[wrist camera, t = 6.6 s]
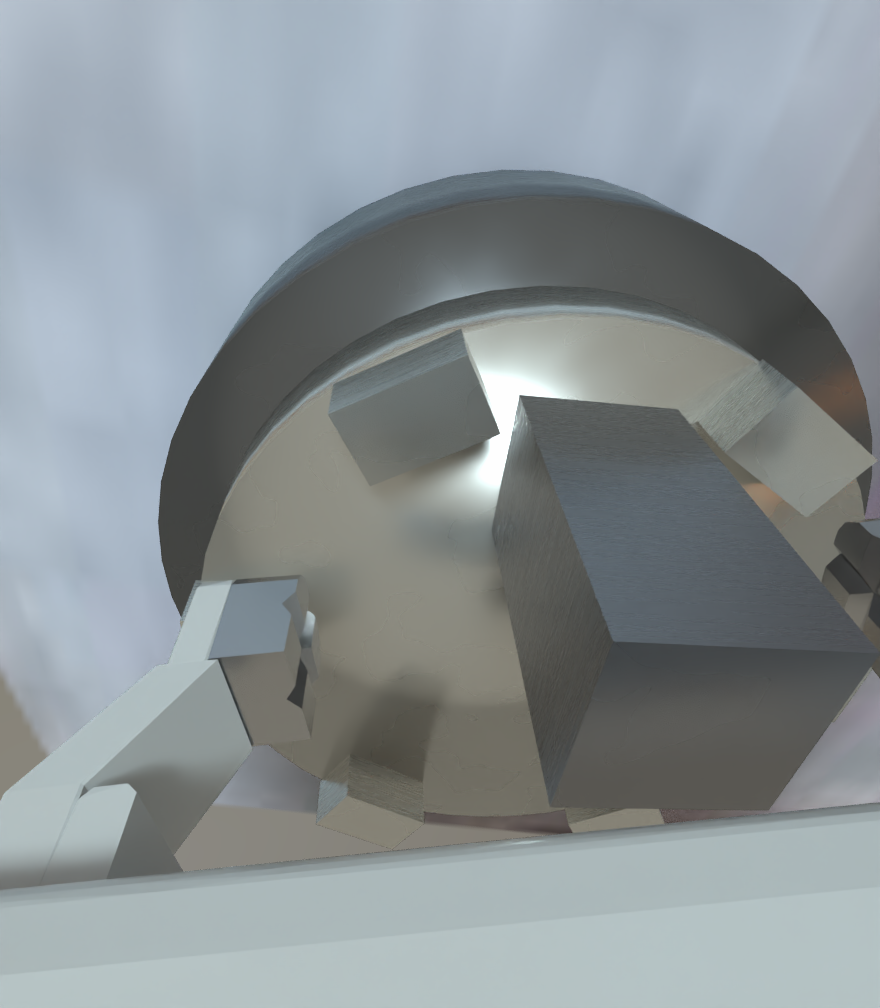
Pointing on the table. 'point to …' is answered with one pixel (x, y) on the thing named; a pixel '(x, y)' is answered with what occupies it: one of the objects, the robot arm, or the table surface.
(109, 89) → the table surface
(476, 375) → the round clock
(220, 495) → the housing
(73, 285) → the table surface
